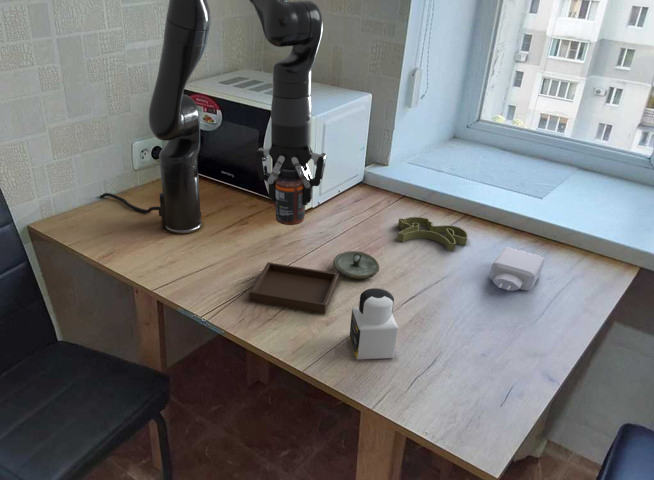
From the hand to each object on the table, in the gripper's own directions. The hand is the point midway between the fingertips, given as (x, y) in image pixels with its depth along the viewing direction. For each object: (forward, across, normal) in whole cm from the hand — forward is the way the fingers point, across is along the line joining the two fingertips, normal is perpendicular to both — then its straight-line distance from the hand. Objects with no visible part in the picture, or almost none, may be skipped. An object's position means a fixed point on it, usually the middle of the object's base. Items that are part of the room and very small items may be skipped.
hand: (290, 201), depth 123 cm
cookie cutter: (+21, -28, -35) cm, 49 cm away
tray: (+20, -2, +1) cm, 21 cm away
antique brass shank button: (+21, -13, -12) cm, 27 cm away
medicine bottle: (+21, -21, +16) cm, 33 cm away
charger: (+21, -47, -17) cm, 54 cm away
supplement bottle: (+4, 0, 0) cm, 4 cm away
